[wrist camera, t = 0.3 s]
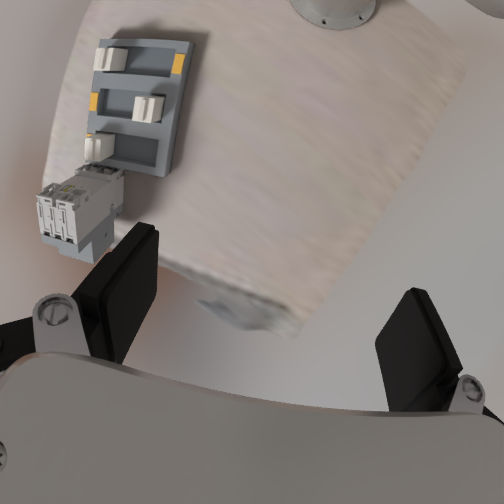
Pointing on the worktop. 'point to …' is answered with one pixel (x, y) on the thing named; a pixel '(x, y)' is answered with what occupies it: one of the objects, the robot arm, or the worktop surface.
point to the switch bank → (123, 98)
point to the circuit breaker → (82, 211)
